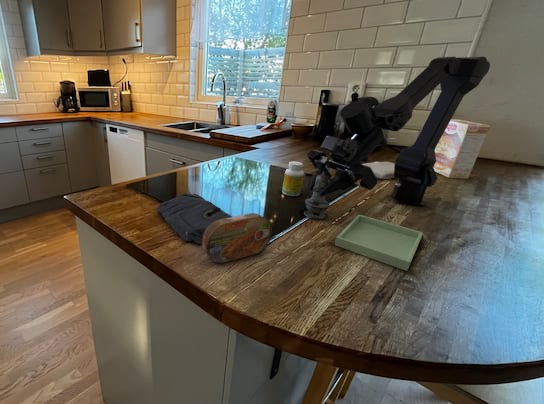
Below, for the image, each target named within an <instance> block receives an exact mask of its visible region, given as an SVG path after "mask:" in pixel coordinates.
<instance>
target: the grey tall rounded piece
mask: <svg viewBox="0 0 544 404" xmlns="http://www.w3.org/2000/svg"><path fill="white" fill-rule="evenodd" d="M328 183H329V179H328V177H327V176H326V175H325V172H323V174H321V175H318V176H317V178H316V182H315V186H314V187H313V189H314V190H312V195H311V197H309V198H306V199H305V200H304V201H305V208H306V209H307V210H305V211H304V212H303V215H304V216H305V217H307V218H309V219H313V220H324V219H326V218H327V217H326V214H325V212H326V211H327V210H328V207H330V206H331V204H330V202H328V201H327V200H326V195H325V196H321V195H320V192H321V191H322V189H323V188H324V187H325V186H326V185H327V184H328Z"/></svg>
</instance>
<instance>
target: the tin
mask: <svg viewBox="0 0 544 404" xmlns="http://www.w3.org/2000/svg"><path fill="white" fill-rule="evenodd" d="M272 235H273V225H272V223H271V221H270V220H269V219H268V218H267V217H265V216H262V215H261V214H259V213H255V212H251V213H245V214H240V215H235V216H232V217H230V218H225V219H220V220H217V221H215V222H213V223H212V224H210V225H209V226H208V227H207V229H206V230H205V232H204V234H203V239H202V244H201V245H202V250H203V252H204V253H205V254H206V255H207V256H208V258H209V259H210V260H211V261H213V262H214V263H220V264H224V263H228V262H231V261H235V260H239V259H243V258H246V257H250V256H253V255H257V254H259V253H261V252H262V251H264V249H265V248H266V247H267V246H268V244H269V243H270V241H271V239H272Z"/></svg>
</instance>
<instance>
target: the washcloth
mask: <svg viewBox="0 0 544 404" xmlns="http://www.w3.org/2000/svg"><path fill="white" fill-rule="evenodd" d="M361 164H362V165H365V166H368V167H371V169H372V170H373V172H374V174H375V176H376V178H377V179H380V180H389V179H396V178H395V177H394V165H395V162H389V161H374V162H364V163H361Z"/></svg>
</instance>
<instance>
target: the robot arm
mask: <svg viewBox="0 0 544 404" xmlns="http://www.w3.org/2000/svg"><path fill="white" fill-rule="evenodd" d="M490 68H491V63H490V62H489V61H488V58H487V57H486V56H462V57H461V56H460V57H459V56H458V57H456V56H438V57H436V58H433V59H431V60H430V62H429V64H428V66H426V67H425V68H424V70H422V71H421V72H420V73H419V74H418V75H417V76H416V77H415V78H414V79H413V80H411V81H410V83H408V84H407V85H406V87H404V88H403V89H402V90H401V91H400V92H399V93H397V94H396V95H394V96H392V97H389V98H388V99H385V100H383V101H382V102H379V104H377V105H376V106H374V108H373V106H372V102H371V99H370V98H369V97H364V96H361V97H360V98H359V99H358V100H354V101H352V102H350V103H348V104H346V105H344V106H343V107H342V108H341V110H340V112H339V116H340V118H341V120H342V121H343V123H344V125H345V127H346V129H347V130H348V132H349V133H350V134H351V135H353V136H352V137H351V138H350V137H347V138H346V139H345V140H344V139H342V138H339V137H335V136H331V135H327V136H326V137H325V139H324V141H322V144H321V146H320V148H321V149H322V150H326V151H327V152H328V156H329V157H330V158H331V159H330V158H329V157H328V156H327V154H326V153H325V152H324V151H321V150H318V149H311V150H309V152H308V153H306V155H305V156H306V157H307V159H308V160H309V161H310V163H311V164H312V166H313V167H314V169H316V170H315V172H314V173H315V174H314V175H313V178H312V179H311V181H310V184H309V186H308V189H309V191H312V192H313V190H314V189H313V187H314V186H315V182H316V178H317V176H318V175H321V174H323V172H325V175H326V176H327V177H328V180H329V181H328V184H327V185H326V186H325V187H324V188H323V189H322V191H321V192H320V195H321V196H325V197H326V196H327V195H330V194H332V193H335V192H337V191H341V190H344V189H347V188H351V187H352V188H355V187H356V186H357V184H356V183H357V182H358V181H359V186H360V187H361V188H364V189H366V190H368V191H372V190H373V189H374V188H375V187H376V186H377V184H378V178H377V177H376V176H375V174H374V172H373V170H372V169H371V167H368V166H365V165H362V164H363V163H368V161H369V160H370V159H369V157H368V156H369V155H370V154H371V153H372V152H373V151H374V150H375V149H376V148H377V147H378V146H382V147H387V146H388V134H385V133H384V131H389V132H399V131H400V130H402V129H403V128H404V127H405V125H406V124H407V123H408V122H409V120H411V119H412V117H413V112H414V109H415V108H416V107H417V106H418V105H419V104H420V103H421V102H422V101H423V100H424V99H425V98H426V97H428V95H430V94H431V93H432V92H433V91H434V90H435V89H436V88H437V87H438V86H439V87H440V92H439V94H438V96H437V99H436V100H435V102H434V104H433V106H432V108H431V110H430V112H429V113H428V116H427V118H426V119H425V122H424V123H423V125H422V128H421V129H420V131H419V133H418V134H417V137H416V138H415V141H414V142H413V144H412V145H410V146H408V147H407V148H406V147H403V148H402V149H401V150H400V151H399V152H400V153H399V155H398V156H397V158H396V159H395V162H394V164H395V165H394V177H395V178H394V179H398V180H397V183H395V184H394V186H393V189H392V193H391V194H390V196H391V197H392V198H393V199H394V201H395V202H396V203H397V204H403V205H413V206H421V207H423V206H424V205H425V204H424V202H423V199H424V196H425V193H426V190H427V189H428V188H431V187H433V186H434V185H435V183H436V182H437V180H438V175H437V172H435V170H434V168H433V167H434V165H435V163H436V155H435V148H436V146H437V144H438V142H439V140H440V139H441V137H442V135H443V133H444V131H445V129H446V128H447V126H448V124H449V122H450V120H451V119H453V117H454V114H455V113H456V111H457V109H458V107H459V105H460V104H461V103H462V100H463V98H464V97H465V96H466V95H467V94H468V93H470V92H471V91H473V90H474V89H476V88H478V86H479V85H480V83H481V81H482V80H484V77H485V76H486V75H487V74H488V73H489V71H490ZM362 162H363V163H362ZM331 170H334V171H335V173H334V176H333V175H332V174H331Z"/></svg>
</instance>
